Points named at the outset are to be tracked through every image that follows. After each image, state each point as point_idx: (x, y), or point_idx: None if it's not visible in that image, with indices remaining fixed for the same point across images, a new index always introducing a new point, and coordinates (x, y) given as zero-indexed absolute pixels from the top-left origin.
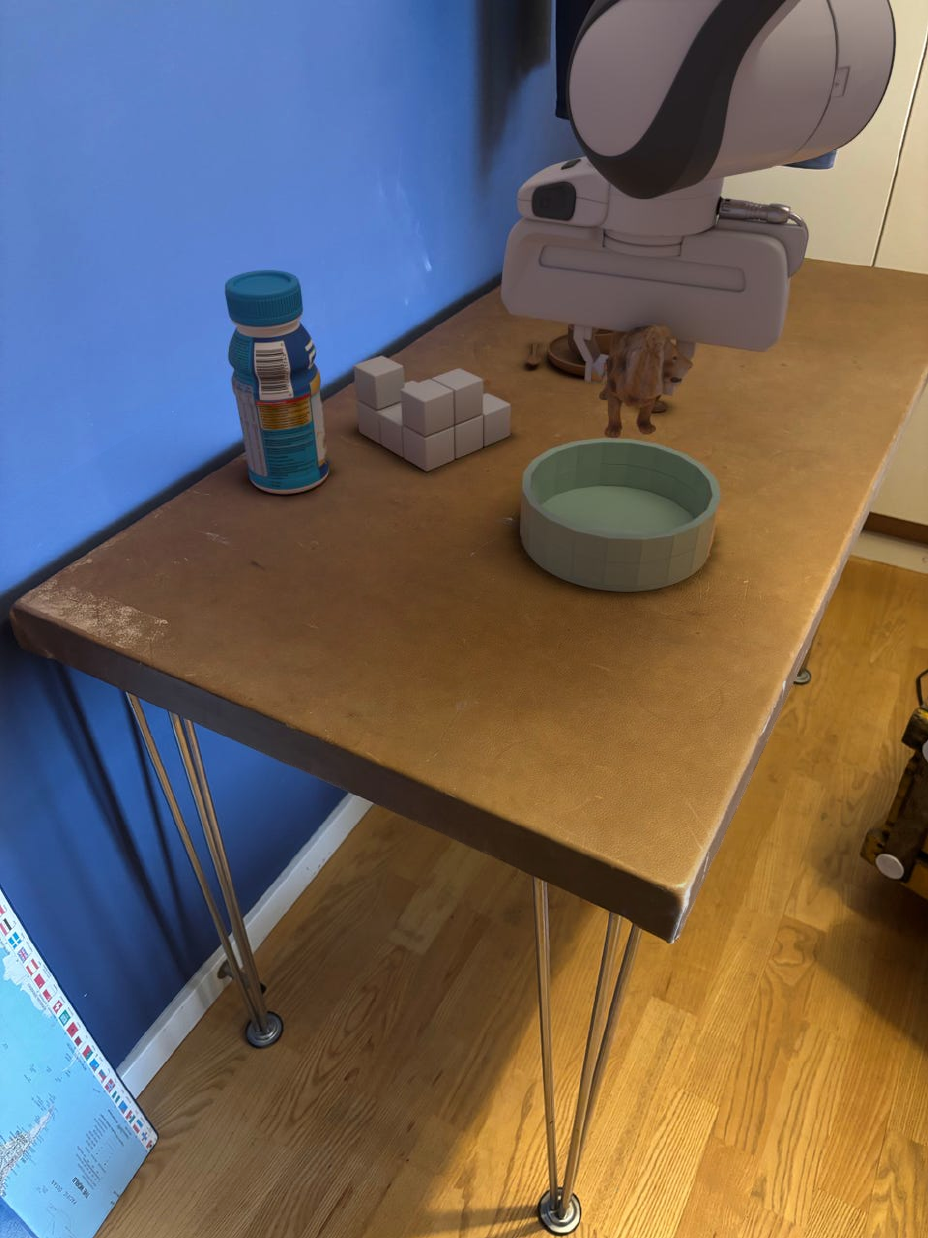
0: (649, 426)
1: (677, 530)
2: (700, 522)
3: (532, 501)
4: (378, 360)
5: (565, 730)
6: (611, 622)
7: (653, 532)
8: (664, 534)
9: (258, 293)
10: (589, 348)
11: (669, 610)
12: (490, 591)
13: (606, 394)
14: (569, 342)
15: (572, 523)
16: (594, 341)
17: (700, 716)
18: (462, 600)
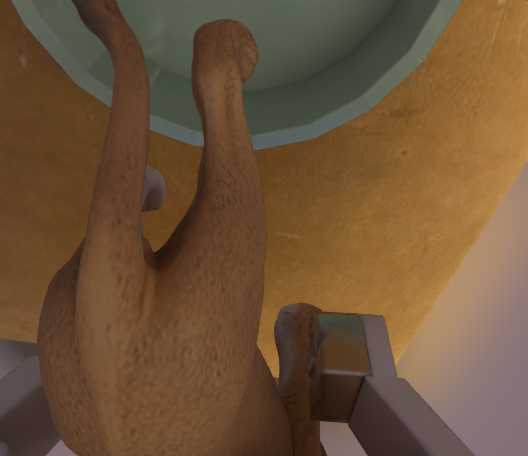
0: (309, 335)
1: (378, 95)
2: (427, 49)
3: (73, 72)
4: None
5: (271, 309)
6: (285, 162)
7: (331, 112)
8: (353, 114)
9: None
10: (45, 446)
11: (364, 115)
12: (103, 144)
13: (143, 211)
14: None
15: (179, 126)
16: (26, 408)
17: (399, 270)
18: (80, 171)
